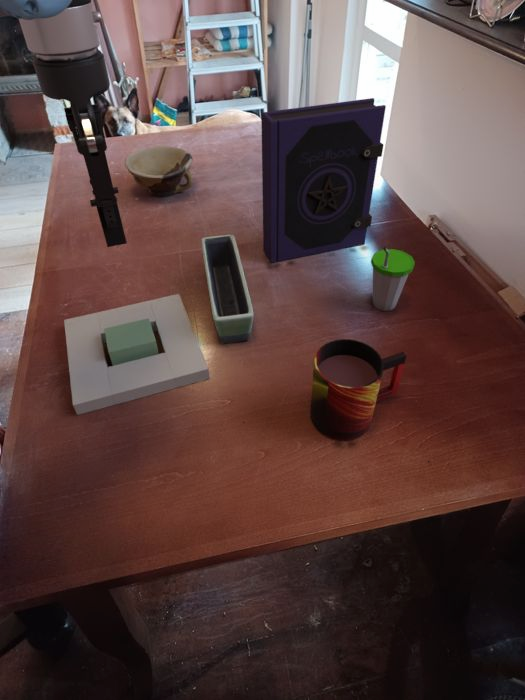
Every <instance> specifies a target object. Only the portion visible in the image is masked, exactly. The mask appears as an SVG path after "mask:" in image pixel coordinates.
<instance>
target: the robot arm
mask: <svg viewBox="0 0 525 700" xmlns="http://www.w3.org/2000/svg"><path fill="white" fill-rule="evenodd" d="M93 10H94V5H93V1H92V0H0V19H1V18H4V17H10V16H11V17H13V18H16V19H18V21H19V24H20V27H21V31H22V34H23V37H24V40H25V44H26V47H27V50H28V51H30V52H31V53H32V54H34V56H33V59H32V61H31V62H32V64H33V65H32V66H33V68H34V71H35V75H36V78H37V81H38V84H39V87H40V91H41V93H42V94H43V96H44V97H47V98H49V99H52V100H55V101H61V100H64V101H68V102H69V107H68V106H67V107H64V108H63V111H64V115H65V119H66V123H67V126H68V129H69V131H70V132H71V133H72V135H73V139H74V144H75V146H76V150H77V152H78V153H79V155H82V156H83V159H84V163H85V166H86V170H87V174H88V177H89V185H91V188H92V191H91V192H92V195H93V196H94V199H89V204H90V207H92V208H94V207H96V211H97V214H98V218H99V222H100V225H101V228H102V229H101V230H102V232H103V236H104V239H105V243H106V247H107V248H111V247H115V246H120V245H121V246H122V245H126V244H128V242H127V238H126V234H125V230H124V225H123V221H122V218H121V213H120V209H119V205H118V198H117V196H116V194H117V195H118V194H120V191H119V187H118V186H113V179H112V176H111V173H110V167H109V164H108V159H107V154H106V151H107V150H108V145H107V141H106V137H105V132H104V127H105V124H104V119H103V115H102V111H101V110H100V107H99V104H98V103H94V104H93V103H92V101H91V99H92V98H93V97H95V96H100V95H103V94H105V93H106V92H107V91H108V90H109V88H110V86H111V83H110V82H111V81H110V77H109V72H108V67H107V63H106V58H105V53H103V52H102V51H101V50H100V49H98V48H99V47H100V45H101V42H102V41H101V38H100V33H99V28H98V26H97V25H96V24H97V23H101V22H102V20H103V17H102V14H101V12H100V11H98V10H95V11H93ZM95 23H96V24H95Z"/></svg>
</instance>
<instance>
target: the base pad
mask: <svg viewBox="0 0 525 700" xmlns="http://www.w3.org/2000/svg"><path fill="white" fill-rule="evenodd" d="M147 318H149V320H150V323H151V327H152V330H153V333H154V332H157V333H158V337H159V340H160V343H161V346H162V349H163V352H161V353H159V354H157V355H154V356H150V357H146V358H142V359H138V360H134V361H130V362H126V363H122V364H118V365H114V366H113V365H110V366H109V364H108V358H107V352H106V347H105V344H107V342H106V337H105V331H104V329H105V328H109V327H113V326H117V325H122V324H126V323H130V322H135V321H139V320H143V319H147ZM63 325H64V332H65V333H64V334H65V342H66V343H65V344H66V353H67V362H68V371H69V381H70V393H71V401H72V402H71V403H72V407H73V409H74V412H75V414H76V415H77V416H79V415H83V414H87V413H90V412H93V411H97V410H101V409H105V408H108V407H111V406H115V405H119V404H123V403H127V402H131V401H134V400H138V399H142V398H144V397H148V396H152V395H156V394H159V393H163V392H166V391H171V390H174V389H178V388H181V387H185V386H188V385H192V384H195V383H200V382H203V381H206V380H210V379H211V376H210V375H211V374H210V369H209V366H208V363H207V361H206V359H205V356H204V354H203V351H202V349H201V345H200V343H199V341H198V339H197V336H196V334H195V333H196V332H195V330H194V328H193V325H192V323H191V321H190V318H189V316H188V313H187V310H186V308H185V305H184V303H183V301H182V297H181V295H180V293H177V294H171V295H167V296H163V297H159V298H155V299H150V300H146V301H141V302H136V303H133V304H127V305H123V306H118V307H116V308H110V309H106V310H102V311H98V312H92V313H88V314H85V315H80V316H79V315H78V316H75V317H71V318H67V319H64V320H63Z"/></svg>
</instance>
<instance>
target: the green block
mask: <svg viewBox="0 0 525 700" xmlns="http://www.w3.org/2000/svg"><path fill="white" fill-rule="evenodd" d="M104 331H105V337H106V342H107V343H106V346H107V352H108V355H109V358H110V361H111V365H112V366H114V365H118V364H122V363H126V362H130V361H134V360H138V359H142V358H146V357H150V356H154V355H157V354H160V353H159V349H158V343H157V340H156V337H155V333H154V332H153V330H152V327H151V323H150V320H149V318H147V319H143V320H139V321H135V322H130V323H126V324H122V325H117V326H113V327H109V328H105V329H104Z"/></svg>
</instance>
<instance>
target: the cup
mask: <svg viewBox="0 0 525 700" xmlns="http://www.w3.org/2000/svg"><path fill="white" fill-rule="evenodd" d="M370 264H371V266H372V305H373V308H375V309H377V310H378V311H382V312H391V311H393V310H395V308H396V306H397V304H398V301H399V299H400V297H401V294H402V291H403V290H404V286H405V284H406V281H407V280H408V278H409V277H408V276H409V274H411V273H412V272H413V270H414V268H415V264H416V261H415V260H414V257H413V256H412V255H410V254H409V253H408V252H405V251H403V250H399V249H394V248H387V247H386V246H384V247H382V249H381V250H379V251H375V252H374V254H373V255H372V257H371V260H370Z"/></svg>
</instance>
